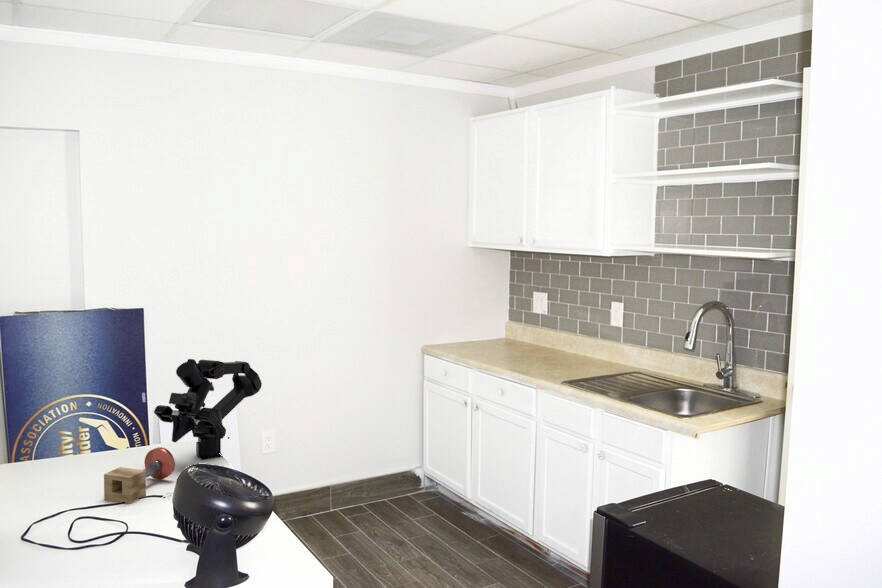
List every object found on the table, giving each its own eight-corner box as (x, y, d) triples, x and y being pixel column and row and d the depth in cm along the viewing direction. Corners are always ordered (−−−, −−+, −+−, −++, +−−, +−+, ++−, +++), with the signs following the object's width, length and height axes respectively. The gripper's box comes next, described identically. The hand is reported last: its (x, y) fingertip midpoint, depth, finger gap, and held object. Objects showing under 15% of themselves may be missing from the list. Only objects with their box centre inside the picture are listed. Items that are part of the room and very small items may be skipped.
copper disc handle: (148, 475, 200) (148, 445, 199) (174, 479, 197) (174, 449, 197) (121, 488, 189) (121, 457, 189) (149, 492, 187) (149, 460, 186)
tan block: (120, 491, 188) (120, 466, 188) (145, 495, 186) (145, 470, 186) (104, 499, 183) (103, 474, 182) (130, 503, 180) (129, 477, 180)
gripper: (157, 378, 209) (132, 424, 199) (212, 383, 204) (189, 431, 195) (174, 398, 217) (151, 443, 208) (227, 403, 212) (206, 450, 203)
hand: (173, 441), depth 203 cm, fingers closed
